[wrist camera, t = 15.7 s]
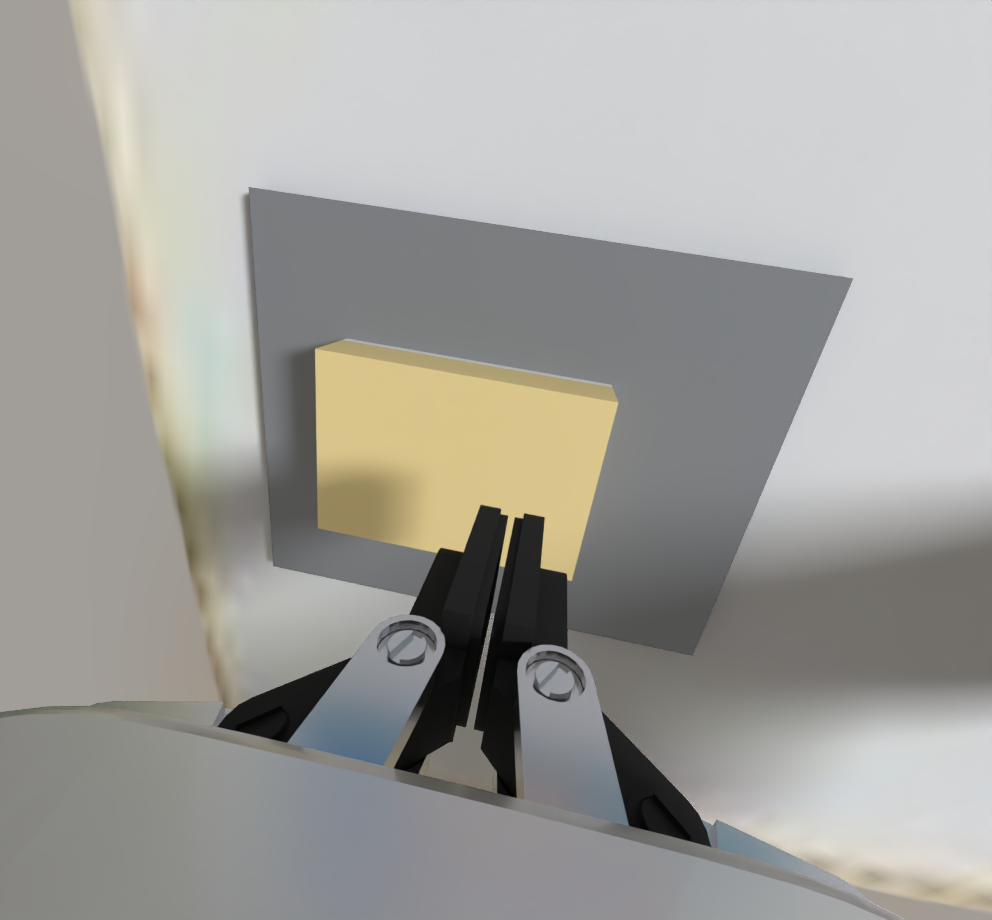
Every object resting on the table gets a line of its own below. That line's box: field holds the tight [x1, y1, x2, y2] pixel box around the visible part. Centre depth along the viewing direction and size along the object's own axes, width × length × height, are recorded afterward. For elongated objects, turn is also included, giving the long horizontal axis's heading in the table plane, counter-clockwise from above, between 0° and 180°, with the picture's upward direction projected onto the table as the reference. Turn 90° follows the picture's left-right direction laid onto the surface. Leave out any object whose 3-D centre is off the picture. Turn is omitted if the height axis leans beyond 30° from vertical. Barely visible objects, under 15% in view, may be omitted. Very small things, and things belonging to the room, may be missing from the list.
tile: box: [315, 339, 618, 581], centre depth 17 cm, size 2×7×10 cm
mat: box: [249, 187, 853, 655], centre depth 19 cm, size 20×16×1 cm
